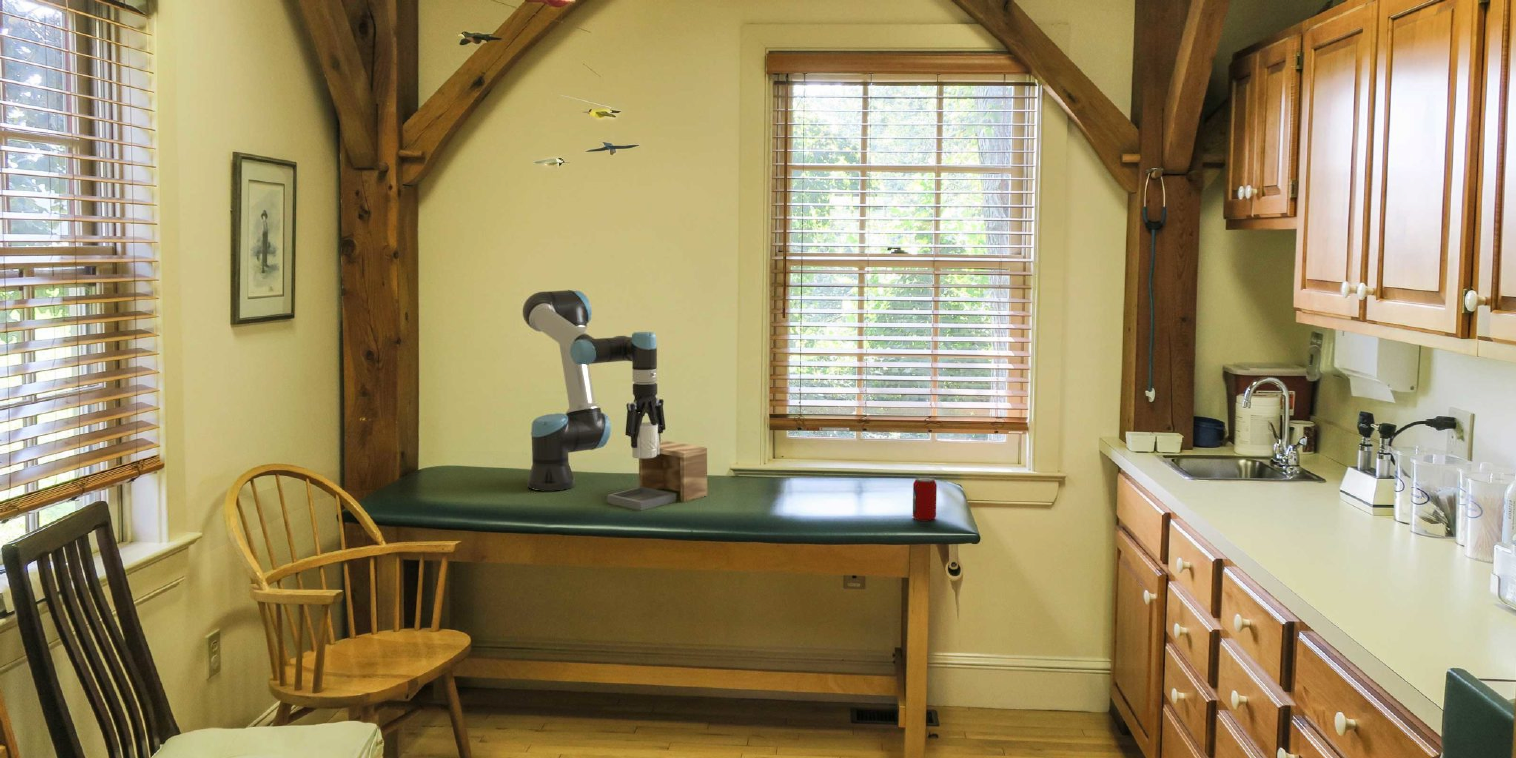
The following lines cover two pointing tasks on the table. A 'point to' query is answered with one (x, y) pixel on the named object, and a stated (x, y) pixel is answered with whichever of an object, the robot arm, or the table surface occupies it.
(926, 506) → the beverage can
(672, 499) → the tray
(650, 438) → the white cup
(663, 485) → the wooden crate
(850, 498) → the table surface
